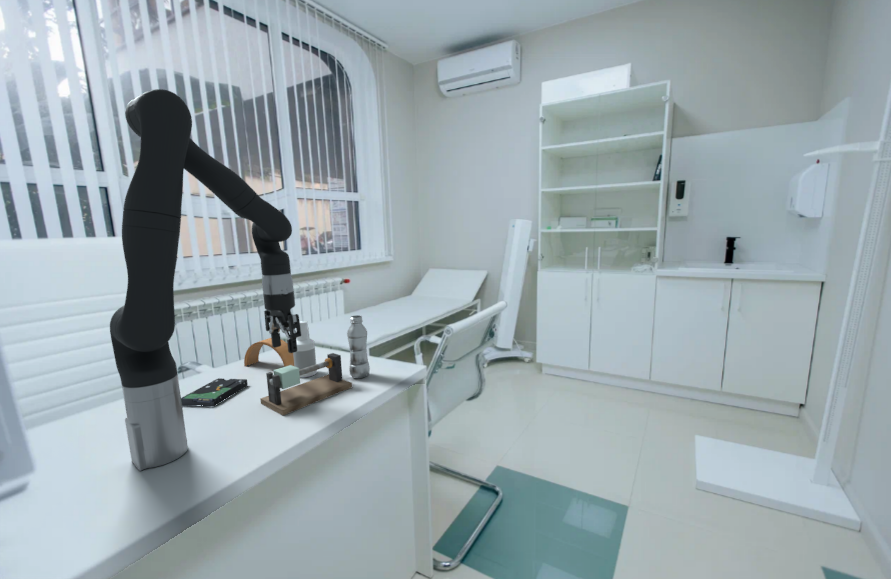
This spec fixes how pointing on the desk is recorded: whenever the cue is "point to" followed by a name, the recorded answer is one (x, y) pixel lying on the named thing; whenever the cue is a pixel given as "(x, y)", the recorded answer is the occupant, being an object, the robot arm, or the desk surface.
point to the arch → (282, 350)
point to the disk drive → (214, 392)
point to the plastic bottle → (358, 348)
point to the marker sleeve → (288, 376)
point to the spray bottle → (305, 351)
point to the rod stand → (306, 387)
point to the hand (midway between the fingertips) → (284, 349)
